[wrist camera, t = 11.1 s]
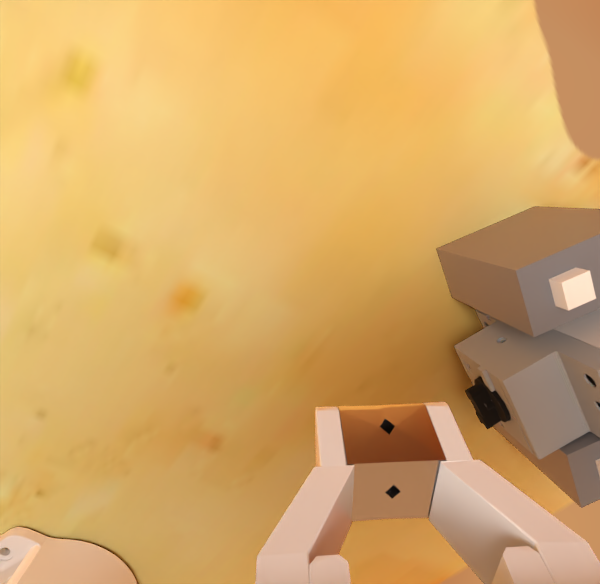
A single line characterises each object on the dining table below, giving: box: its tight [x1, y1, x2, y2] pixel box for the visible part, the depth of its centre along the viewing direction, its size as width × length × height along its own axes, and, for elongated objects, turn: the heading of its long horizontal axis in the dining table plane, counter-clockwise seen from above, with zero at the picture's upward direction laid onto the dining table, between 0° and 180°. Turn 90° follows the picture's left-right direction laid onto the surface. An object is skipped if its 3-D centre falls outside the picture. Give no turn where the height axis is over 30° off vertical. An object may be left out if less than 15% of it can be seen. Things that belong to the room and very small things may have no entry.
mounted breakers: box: [436, 207, 600, 507], centre depth 36 cm, size 10×20×13 cm, turn 22°
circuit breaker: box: [454, 308, 600, 459], centre depth 36 cm, size 8×14×15 cm, turn 119°
